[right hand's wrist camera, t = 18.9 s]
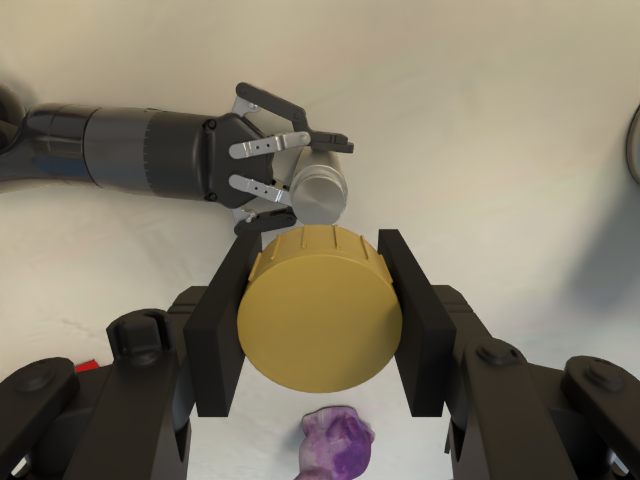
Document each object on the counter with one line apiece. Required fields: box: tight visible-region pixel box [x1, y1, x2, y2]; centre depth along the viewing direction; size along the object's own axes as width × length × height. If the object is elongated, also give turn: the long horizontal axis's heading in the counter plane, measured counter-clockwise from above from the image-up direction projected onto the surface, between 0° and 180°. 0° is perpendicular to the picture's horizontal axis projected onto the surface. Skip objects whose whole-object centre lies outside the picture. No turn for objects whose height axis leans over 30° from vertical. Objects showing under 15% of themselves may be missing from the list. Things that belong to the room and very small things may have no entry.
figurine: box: [294, 406, 375, 480], centre depth 46 cm, size 9×10×15 cm
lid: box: [237, 224, 403, 393], centre depth 11 cm, size 5×5×2 cm
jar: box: [289, 146, 348, 226], centre depth 30 cm, size 4×4×17 cm
